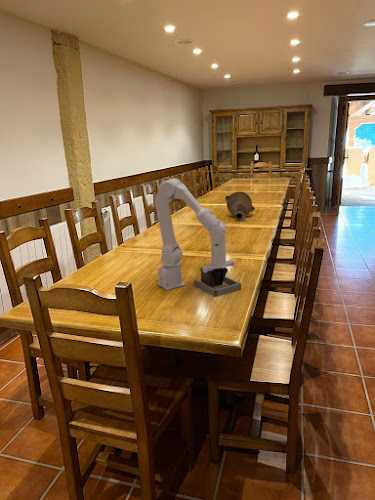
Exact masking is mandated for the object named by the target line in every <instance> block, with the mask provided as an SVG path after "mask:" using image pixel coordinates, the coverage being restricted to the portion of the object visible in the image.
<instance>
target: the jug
mask: <svg viewBox="0 0 375 500" xmlns="http://www.w3.org/2000/svg"><path fill="white" fill-rule="evenodd" d="M224 200H225V202H226V207H227V211H228V212H229V213H230V215H231V216H233V217H234V218H235V219H236V220H239V221H240V222H243V223H244V221H245V220H246V219H247V215H248V214H251V213H252V212H254V211H255V207H254V206H253V200H252V198H251V196H250V195H249V194H248V193H246V192H244V191H235V192H233V193H231V194H230V195H225V197H224Z"/></svg>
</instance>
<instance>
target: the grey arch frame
mask: <svg viewBox="0 0 375 500" xmlns="http://www.w3.org/2000/svg"><path fill="white" fill-rule="evenodd" d="M224 283H225V284H227V286H224V287H220V288H216V289H215V288H214V287H213V286H212V287H210V286H208V285H206V284H204V283H202V282H201V280H198V279H197V278H193V285H194V286H195V287H197V288H199V289H201V290H202V291H205V292H206V293H208V294H210V295H212V296H214V297H218V296H219V297H220V296H222V295H226V294H229V293H232V292H233V293H234V292H236V291H239V290H241V289H242V283H241V282H238V281H236V280H234V279H233V278H230V277H228V276H226V275H225V278H224V281H223V284H224Z"/></svg>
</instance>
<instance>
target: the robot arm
mask: <svg viewBox="0 0 375 500" xmlns="http://www.w3.org/2000/svg"><path fill="white" fill-rule="evenodd" d="M173 198H174V199H178V200H181V201H183V202H184V203H185V204H186V205H187V206H188V207H189V208H190V209H191V210H192V211H193V212H194V213H195V214H196V220H197V221H199V223H200V224H201V225H202V226H203V227H204V229H206V230H207V231H208V236H209V237H210V251H211V252H210V257H211V263H209V264H207V265H205V266H201V267H202V272H205V273H206V272H208V271H210V272H211V273H212V275H213V277H214V280H215V284H216V285H215V286H217V287H222V286H224V285H223V284H224V282H223V281H224V278H225V276H226V275H227V273H228V271H229V268H227V267H232V266H233V267H234V266H235V260H233V259H231V260H227V254H226V253H227V248H226V245H227V244H226V233H227V226H226V225H225V223H224V222H222V221H221V219H218V218H217V217H216V216H215V215H214V214H213V211H212V210H211V209H209V208H205V207H202V205H201V204H200V202H199V201H198V200H197V199H196V198H195V197H194V196H193V194H192V193H191V192H190V190H189V189H188V188H187V186H186V185H185V184H184V183H182V181H181V180H180V179H178V178H176V177H172V178H170V179H167V180H163V181H162V182H161V183H160V184H159V185H158V186H157V191H156V195H155V199H154V204H155V205H154V206H155V209H156V215H157V220H158V226H159V230H160V235H161V239H162V247H161V257H160V261H161V263H162V266H159V267H158V268H157V279H158V283H157V285H158V286H159V287H160V288H162V289H165V290H166V291H168V290H172V289H175V288H180V287H184V286H186V285H187V283H185V282H184V281H183V279H182V277H183V275H182V274H183V273H182V261H181V259H182V257H183V250H182V249H181V248H180V245H179V243H178V242H177V240H176V236H175V235H176V234H175V230H174V226H173V220H172V214H171V210H170V209H171V208H170V202H171V201H172V200H173Z"/></svg>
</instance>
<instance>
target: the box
mask: <svg viewBox="0 0 375 500" xmlns="http://www.w3.org/2000/svg"><path fill="white" fill-rule="evenodd" d="M202 267H203V266H201V267H200V282H202V283H204V284H206V285H208V286H210V287H212V288H213V287H214V286H216V284H215V280H214V277H213V275H212V273H211V272H210V271H208V272H206V273H205V272H202Z"/></svg>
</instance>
